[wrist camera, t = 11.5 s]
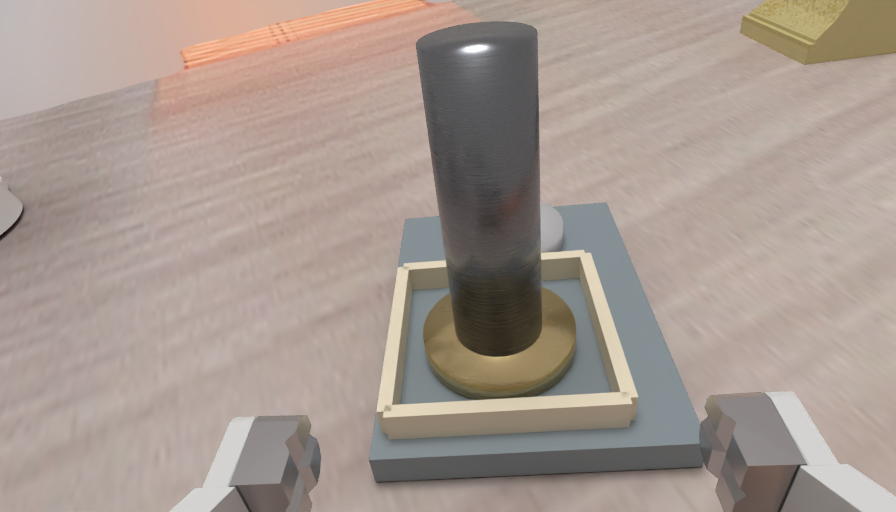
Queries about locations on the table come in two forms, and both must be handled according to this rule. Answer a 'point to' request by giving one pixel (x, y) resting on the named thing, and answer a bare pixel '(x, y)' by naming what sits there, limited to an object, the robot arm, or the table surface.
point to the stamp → (490, 215)
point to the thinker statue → (824, 28)
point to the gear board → (559, 408)
